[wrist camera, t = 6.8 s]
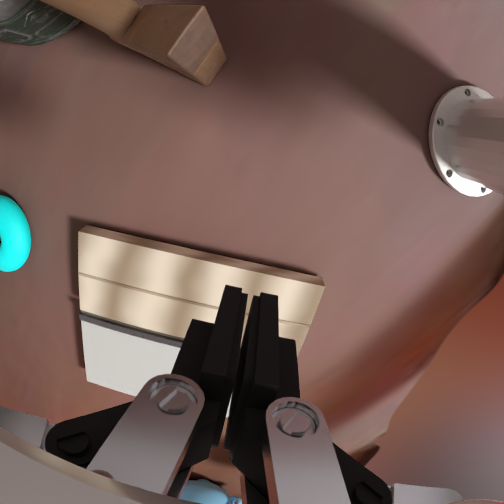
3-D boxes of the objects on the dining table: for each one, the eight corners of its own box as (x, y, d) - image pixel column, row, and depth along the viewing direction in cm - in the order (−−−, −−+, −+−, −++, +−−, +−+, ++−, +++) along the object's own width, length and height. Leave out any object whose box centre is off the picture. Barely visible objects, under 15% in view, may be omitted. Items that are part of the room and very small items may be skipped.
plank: (321, 277, 34) (325, 287, 32) (294, 349, 38) (296, 360, 36) (86, 225, 32) (77, 231, 30) (87, 301, 36) (79, 310, 34)
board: (293, 351, 38) (295, 364, 36) (268, 413, 42) (268, 426, 40) (87, 303, 36) (79, 314, 34) (92, 372, 40) (85, 383, 38)
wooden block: (207, 88, 28) (146, 39, 11) (120, 44, 26) (8, -8, 9) (228, 57, 27) (195, -25, 10) (140, 15, 25) (45, -60, 8)
